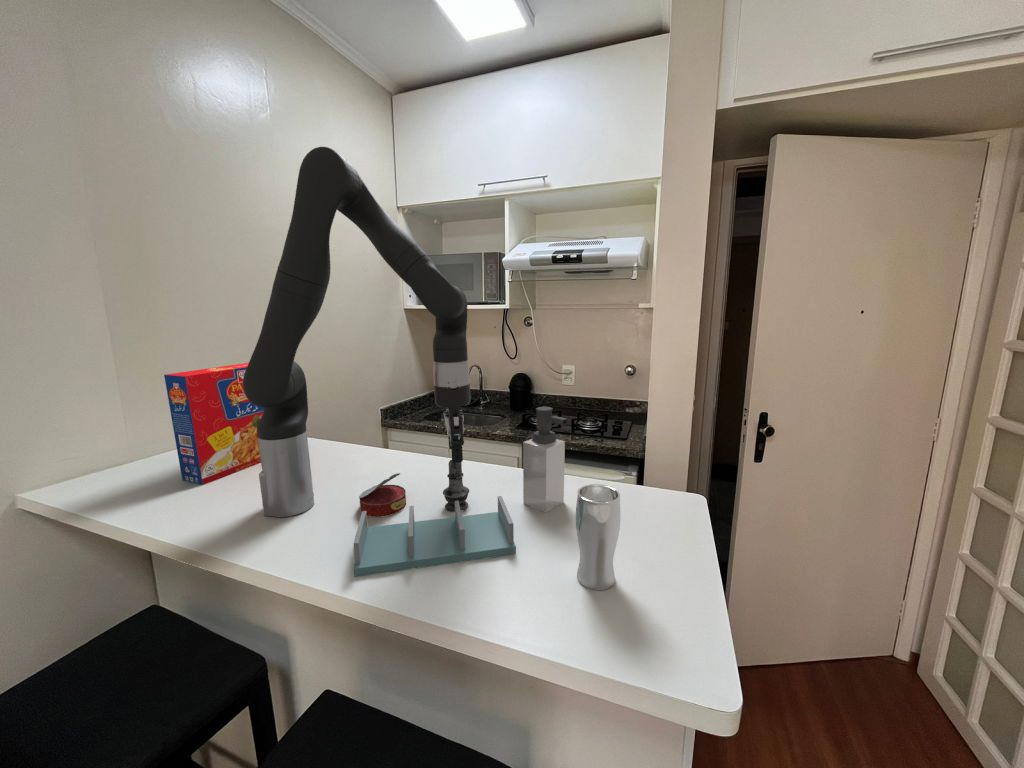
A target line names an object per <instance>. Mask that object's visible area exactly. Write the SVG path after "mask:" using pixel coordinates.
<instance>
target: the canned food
mask: <svg viewBox="0 0 1024 768" xmlns="http://www.w3.org/2000/svg"><path fill="white" fill-rule="evenodd" d="M400 475H401V473H400V472H399V473H394V474H393V475H391V476H389V477H388V478H387V479H384V480H382V481H381V482H380V483H378V484H376V485H374V486H371V487H370V488H368V489H366V490H365V491H363V492H362V493H361V494H360V495H359V496H358V499H359V505H360V506H359V508H360V512H361V513H362V511H367V517H370V516H371V518H383V517H387V516H393V515H395V514H397V513H399V512H401V511H402V510H403V509H405V507H407V506H406V505H407V495H406V489H405V488H404V487H402V486H401V485H398V484H397V485H396V484H387V483H388V482H390V481H392V480H393V479H395V478H396V477H398V476H400ZM382 516H383V517H382Z"/></svg>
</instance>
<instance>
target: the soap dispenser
mask: <svg viewBox="0 0 1024 768" xmlns="http://www.w3.org/2000/svg"><path fill="white" fill-rule="evenodd" d="M553 410H554V409H553V407H550V406H538V407H536V408H535V411H536V429H537V430H536V431H534V432H533V433H532V438H531V439H528V440H525V441H523V443H522V447H523V448H522V449H523V450H522V451H523V453H522V458H523V459H522V464H523V465H522V466H523V467H522V471H523V472H522V473H523V474H522V475H523V477H522V481H523V483H522V484H523V485H522V487H523V488H522V489H523V492H522V493H523V494H522V495H523V496H522V497H523V504H524V505H527V506H529V507H532V508H533V509H536V510H539V511H540V512H543V513H545V514H546V513H548V512H549V511H551V510H553V509H555V508H557V507H558V506H560V505H562V504H563V503H564V502H565V453H566V452H565V451H566V449H565V448H566V447H565V446H566V441H565V440H561V439H558V438H557V436H556V432H555V431H553V430H551V429H552V428H553V427H552V426H553V425H552V424H556V425H560V426H564V425H565V426H566V425H567V424H568V418H566V417H562V416H556V415H553V414H552V413H553Z"/></svg>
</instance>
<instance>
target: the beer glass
mask: <svg viewBox="0 0 1024 768" xmlns="http://www.w3.org/2000/svg"><path fill="white" fill-rule="evenodd" d="M621 515H622V514H621V494H620V492H619V491H618V490H617V489H616V488H614V487H613V486H612V487H611V486H608V485H605V484H600V483H599V484H598V483H597V484H596V483H591V484H586V485H582V486H581V487H579V488H578V489H577V497H576V507H575V528H576V529H575V530H576V535H577V536H576V537H577V542H578V547H579V562H578V568H577V572H576V578H577V581H578V582H579V583H580V584H581V586H583V587H584V588H587V589H590V590H594V591H605V590H608V589H610V588H612V587H613V586H614V585H615V581H616V578H615V571H614V557H615V552H616V547H617V543H618V539H619V534H620V530H621V520H622V519H621Z"/></svg>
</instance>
